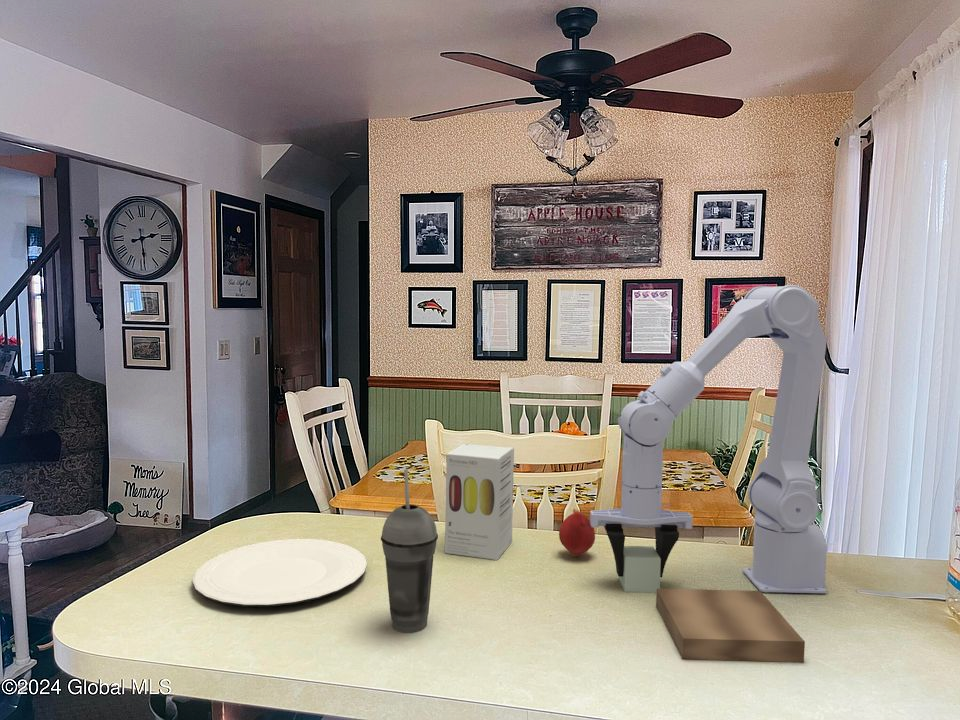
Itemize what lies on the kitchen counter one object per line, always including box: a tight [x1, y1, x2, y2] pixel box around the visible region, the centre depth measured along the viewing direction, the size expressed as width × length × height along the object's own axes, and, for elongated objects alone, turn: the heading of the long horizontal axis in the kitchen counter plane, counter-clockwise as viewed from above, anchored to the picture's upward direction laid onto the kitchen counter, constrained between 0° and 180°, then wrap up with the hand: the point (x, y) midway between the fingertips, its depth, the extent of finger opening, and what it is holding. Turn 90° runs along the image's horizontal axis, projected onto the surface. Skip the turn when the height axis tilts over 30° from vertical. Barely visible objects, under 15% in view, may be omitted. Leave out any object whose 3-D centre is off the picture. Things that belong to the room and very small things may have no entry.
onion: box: [558, 507, 596, 558], centre depth 113 cm, size 6×6×8 cm
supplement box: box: [444, 442, 515, 561], centre depth 116 cm, size 10×9×17 cm
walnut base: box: [655, 588, 806, 663], centre depth 87 cm, size 14×14×2 cm
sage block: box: [618, 545, 661, 594], centre depth 101 cm, size 5×5×5 cm
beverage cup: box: [380, 469, 439, 634], centre depth 88 cm, size 7×7×20 cm
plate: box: [191, 538, 368, 607], centre depth 103 cm, size 25×25×2 cm
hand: (639, 574), depth 101 cm, fingers closed on sage block, 5 cm apart
